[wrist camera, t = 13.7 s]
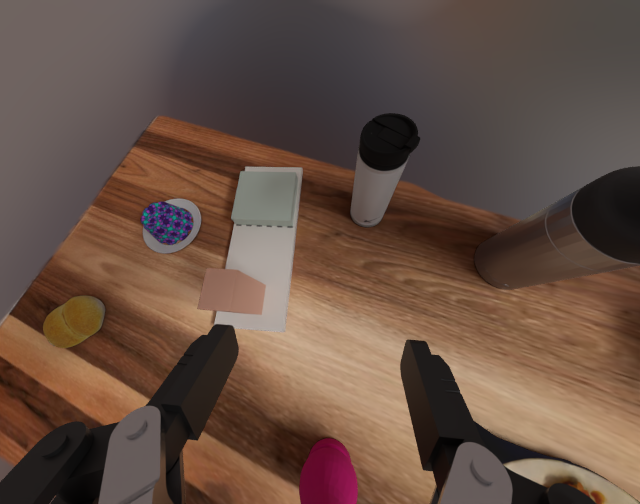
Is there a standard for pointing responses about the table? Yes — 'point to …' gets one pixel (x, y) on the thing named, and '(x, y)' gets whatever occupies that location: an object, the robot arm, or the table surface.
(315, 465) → the pepper mill
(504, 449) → the plate of glazed chicken
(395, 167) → the travel mug
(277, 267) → the ticket board
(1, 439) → the table surface
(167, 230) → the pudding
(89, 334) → the bread roll
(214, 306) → the stub
